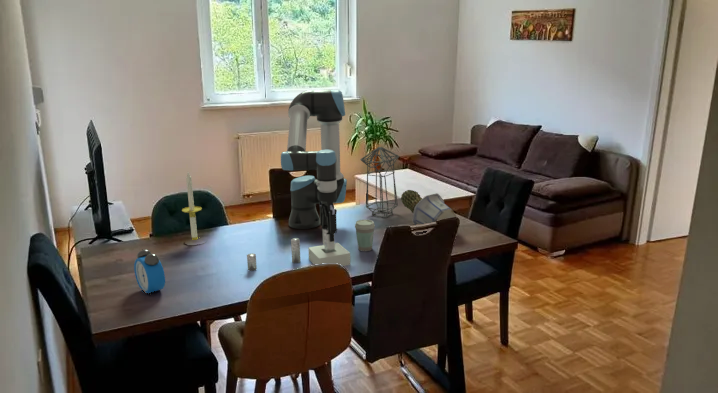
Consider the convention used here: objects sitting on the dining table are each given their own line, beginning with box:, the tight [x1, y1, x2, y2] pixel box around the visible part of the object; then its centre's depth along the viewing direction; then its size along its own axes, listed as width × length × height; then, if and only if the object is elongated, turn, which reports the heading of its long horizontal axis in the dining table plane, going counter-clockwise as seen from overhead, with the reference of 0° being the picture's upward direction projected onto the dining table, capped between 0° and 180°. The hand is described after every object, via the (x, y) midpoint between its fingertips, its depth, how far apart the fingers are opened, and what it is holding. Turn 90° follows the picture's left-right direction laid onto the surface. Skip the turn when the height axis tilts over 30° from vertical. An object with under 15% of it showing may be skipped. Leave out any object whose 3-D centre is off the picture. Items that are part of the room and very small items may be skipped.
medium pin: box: [290, 237, 301, 264], centre depth 226 cm, size 3×3×10 cm
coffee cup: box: [354, 219, 376, 252], centre depth 239 cm, size 9×8×12 cm
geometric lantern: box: [360, 146, 401, 219], centre depth 282 cm, size 16×16×35 cm
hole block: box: [308, 242, 351, 267], centre depth 226 cm, size 13×13×5 cm
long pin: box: [324, 228, 333, 253], centre depth 225 cm, size 3×3×14 cm
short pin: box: [246, 253, 258, 272], centre depth 220 cm, size 3×3×6 cm
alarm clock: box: [133, 248, 166, 294], centre depth 201 cm, size 13×6×15 cm, turn 43°
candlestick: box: [181, 171, 203, 240], centre depth 247 cm, size 10×10×32 cm
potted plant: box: [400, 189, 457, 226], centre depth 264 cm, size 18×18×30 cm
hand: (328, 246), depth 225 cm, fingers open, 5 cm apart
